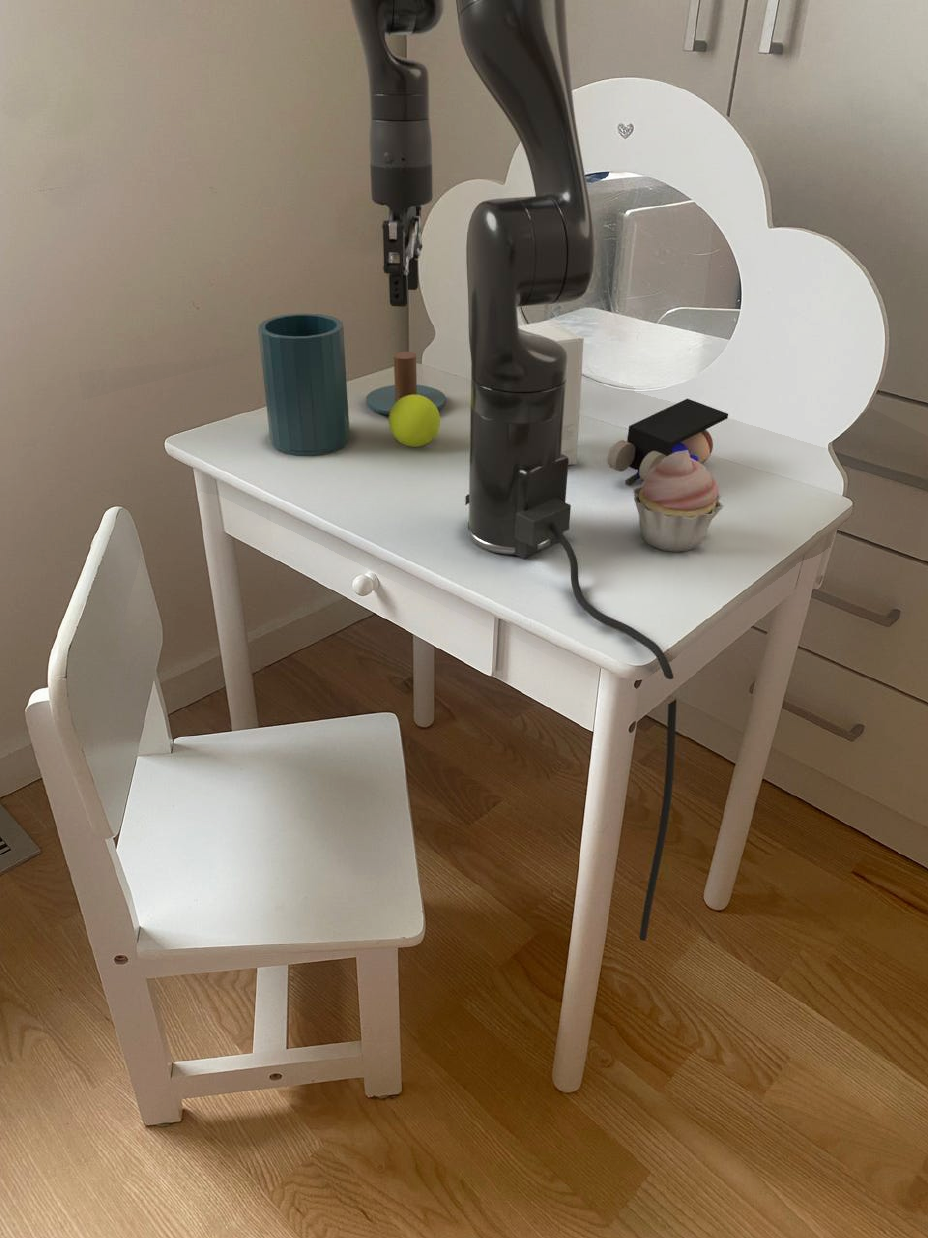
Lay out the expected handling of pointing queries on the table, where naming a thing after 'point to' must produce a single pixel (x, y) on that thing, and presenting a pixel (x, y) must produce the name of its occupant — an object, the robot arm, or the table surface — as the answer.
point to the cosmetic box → (573, 382)
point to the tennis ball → (414, 420)
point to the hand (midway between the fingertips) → (404, 297)
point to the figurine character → (666, 438)
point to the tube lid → (403, 386)
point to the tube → (305, 383)
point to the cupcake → (677, 503)
